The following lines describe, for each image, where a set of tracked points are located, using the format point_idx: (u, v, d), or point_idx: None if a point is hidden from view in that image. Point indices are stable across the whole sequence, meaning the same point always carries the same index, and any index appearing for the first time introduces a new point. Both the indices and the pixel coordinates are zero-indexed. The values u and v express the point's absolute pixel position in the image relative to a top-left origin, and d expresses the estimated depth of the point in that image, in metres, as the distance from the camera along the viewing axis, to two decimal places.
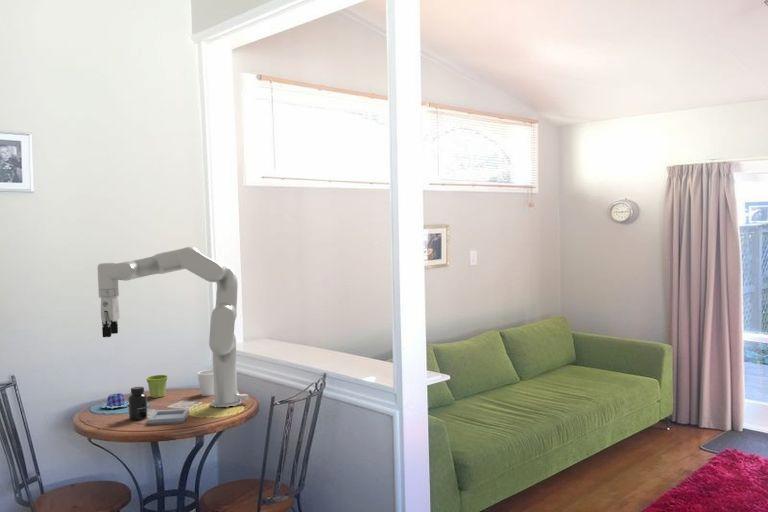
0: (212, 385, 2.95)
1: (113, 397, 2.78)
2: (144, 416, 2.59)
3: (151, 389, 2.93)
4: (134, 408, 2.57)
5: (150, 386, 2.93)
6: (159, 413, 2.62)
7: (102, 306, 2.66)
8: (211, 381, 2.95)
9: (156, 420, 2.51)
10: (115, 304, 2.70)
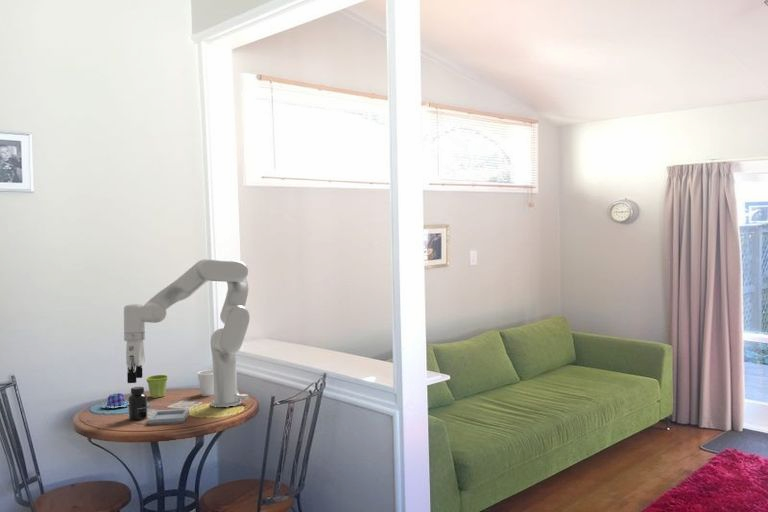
0: (212, 385, 2.95)
1: (113, 397, 2.78)
2: (144, 416, 2.59)
3: (151, 389, 2.93)
4: (134, 408, 2.57)
5: (150, 386, 2.93)
6: (159, 413, 2.62)
7: (128, 350, 2.55)
8: (211, 381, 2.95)
9: (156, 420, 2.51)
10: (141, 348, 2.59)
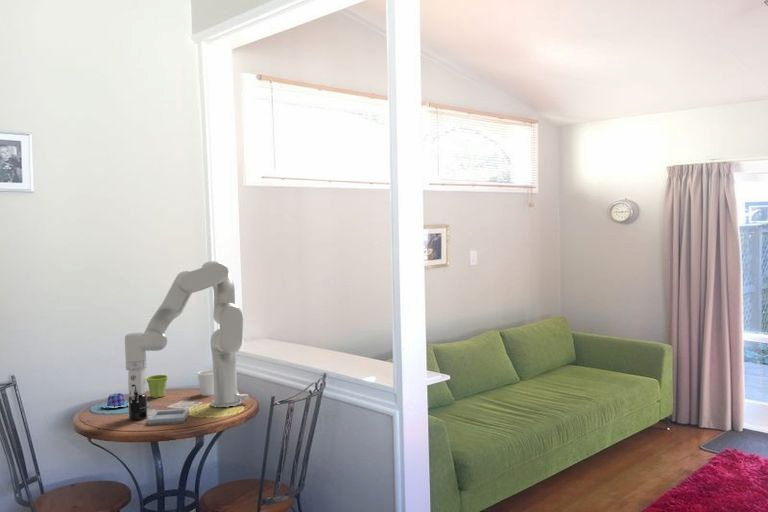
0: (212, 385, 2.95)
1: (113, 397, 2.78)
2: (144, 416, 2.59)
3: (151, 389, 2.93)
4: None
5: (150, 386, 2.93)
6: (159, 413, 2.62)
7: (130, 380, 2.55)
8: (211, 381, 2.95)
9: (156, 420, 2.51)
10: (143, 376, 2.59)
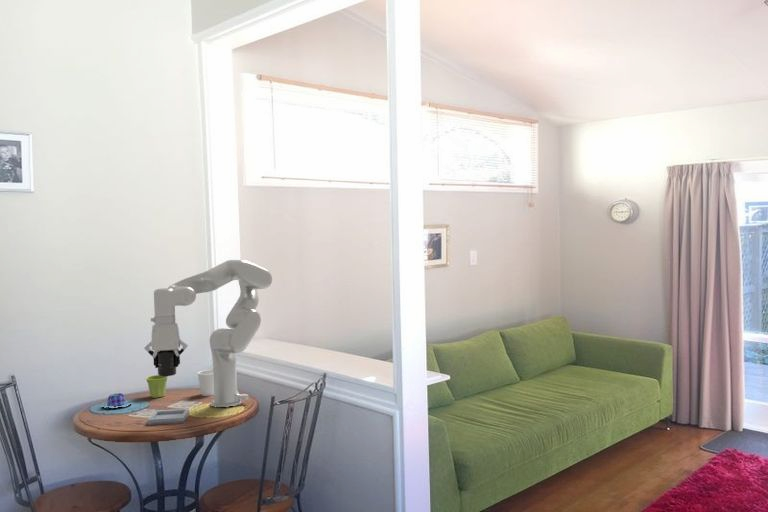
0: (212, 385, 2.95)
1: (113, 397, 2.78)
2: (160, 373, 2.54)
3: (151, 389, 2.93)
4: None
5: (150, 386, 2.93)
6: (159, 413, 2.62)
7: None
8: (211, 381, 2.95)
9: (156, 420, 2.51)
10: (160, 333, 2.54)
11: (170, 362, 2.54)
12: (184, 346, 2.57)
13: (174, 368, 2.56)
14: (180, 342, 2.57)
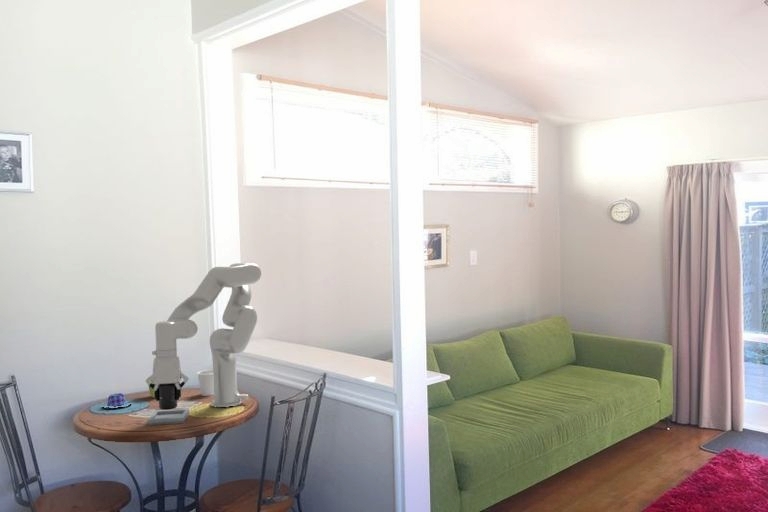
0: (212, 385, 2.95)
1: (113, 397, 2.78)
2: (161, 407, 2.54)
3: (151, 389, 2.93)
4: None
5: None
6: (159, 413, 2.62)
7: None
8: (211, 381, 2.95)
9: (156, 420, 2.51)
10: (162, 366, 2.54)
11: (171, 396, 2.55)
12: (185, 379, 2.57)
13: (175, 401, 2.56)
14: (181, 375, 2.57)
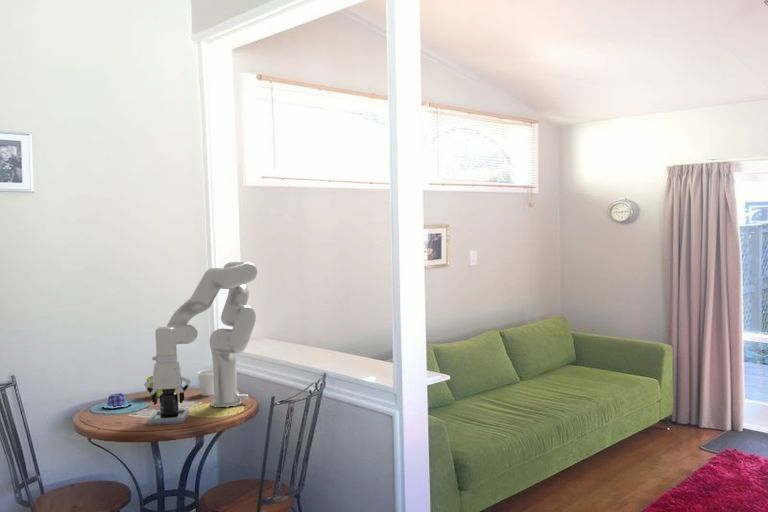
0: (212, 385, 2.95)
1: (112, 397, 2.78)
2: (162, 416, 2.55)
3: None
4: None
5: (150, 386, 2.93)
6: (159, 413, 2.62)
7: None
8: (211, 381, 2.95)
9: (156, 420, 2.51)
10: (162, 372, 2.54)
11: (173, 405, 2.55)
12: (187, 382, 2.57)
13: (176, 411, 2.57)
14: (182, 379, 2.57)
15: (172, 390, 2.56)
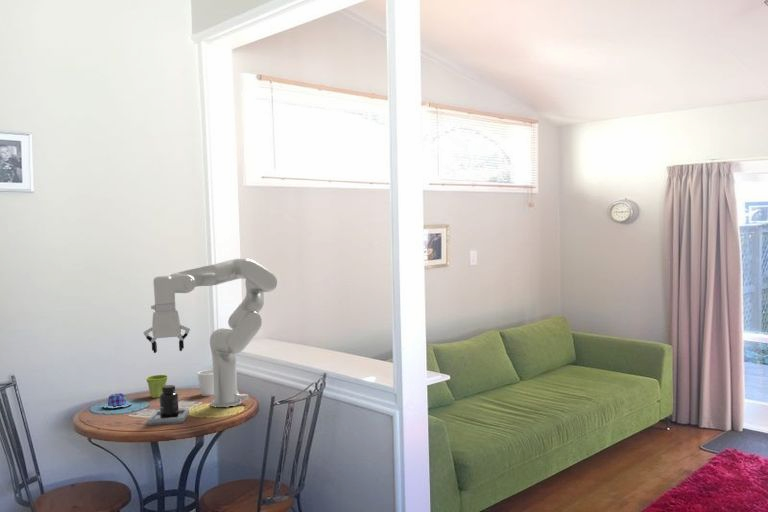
0: (212, 385, 2.95)
1: (112, 397, 2.78)
2: (162, 416, 2.55)
3: (151, 389, 2.93)
4: None
5: (150, 386, 2.93)
6: (159, 413, 2.62)
7: None
8: (211, 381, 2.95)
9: (156, 420, 2.51)
10: (161, 320, 2.57)
11: (173, 405, 2.55)
12: (187, 330, 2.61)
13: (176, 411, 2.57)
14: (182, 327, 2.60)
15: (172, 390, 2.56)
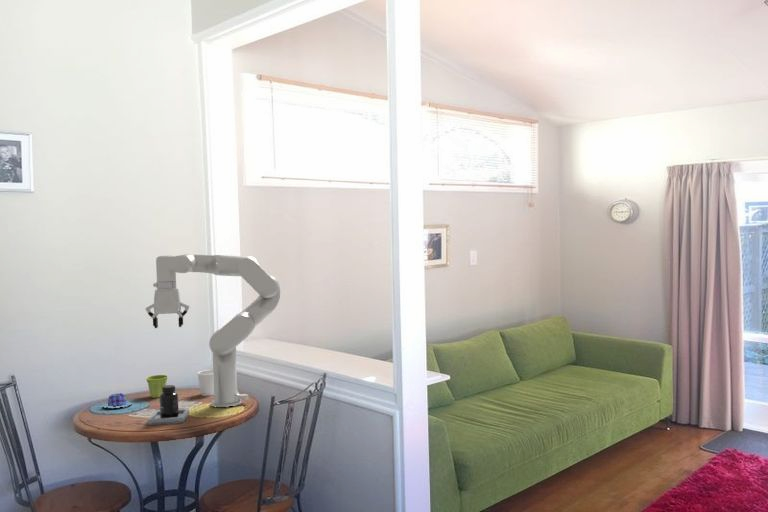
0: (212, 385, 2.95)
1: (112, 397, 2.78)
2: (162, 416, 2.55)
3: (151, 389, 2.93)
4: None
5: (150, 386, 2.93)
6: (159, 413, 2.62)
7: None
8: (211, 381, 2.95)
9: (156, 420, 2.51)
10: (162, 297, 2.71)
11: (173, 405, 2.55)
12: (186, 307, 2.75)
13: (176, 411, 2.57)
14: (181, 305, 2.74)
15: (172, 390, 2.56)
